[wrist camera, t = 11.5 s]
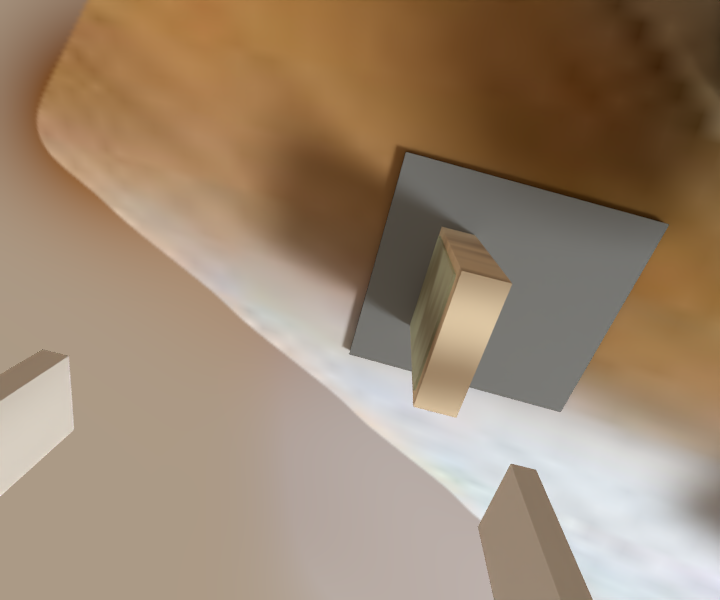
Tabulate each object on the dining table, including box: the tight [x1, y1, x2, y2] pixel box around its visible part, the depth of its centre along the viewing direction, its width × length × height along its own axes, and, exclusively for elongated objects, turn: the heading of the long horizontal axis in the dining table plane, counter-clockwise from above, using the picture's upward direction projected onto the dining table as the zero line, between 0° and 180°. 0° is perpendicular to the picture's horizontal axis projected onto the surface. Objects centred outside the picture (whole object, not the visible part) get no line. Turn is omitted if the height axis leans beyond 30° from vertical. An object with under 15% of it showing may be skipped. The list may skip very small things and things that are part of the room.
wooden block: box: [410, 227, 512, 417], centre depth 24 cm, size 8×2×10 cm, turn 167°
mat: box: [349, 152, 669, 412], centre depth 29 cm, size 16×18×1 cm
